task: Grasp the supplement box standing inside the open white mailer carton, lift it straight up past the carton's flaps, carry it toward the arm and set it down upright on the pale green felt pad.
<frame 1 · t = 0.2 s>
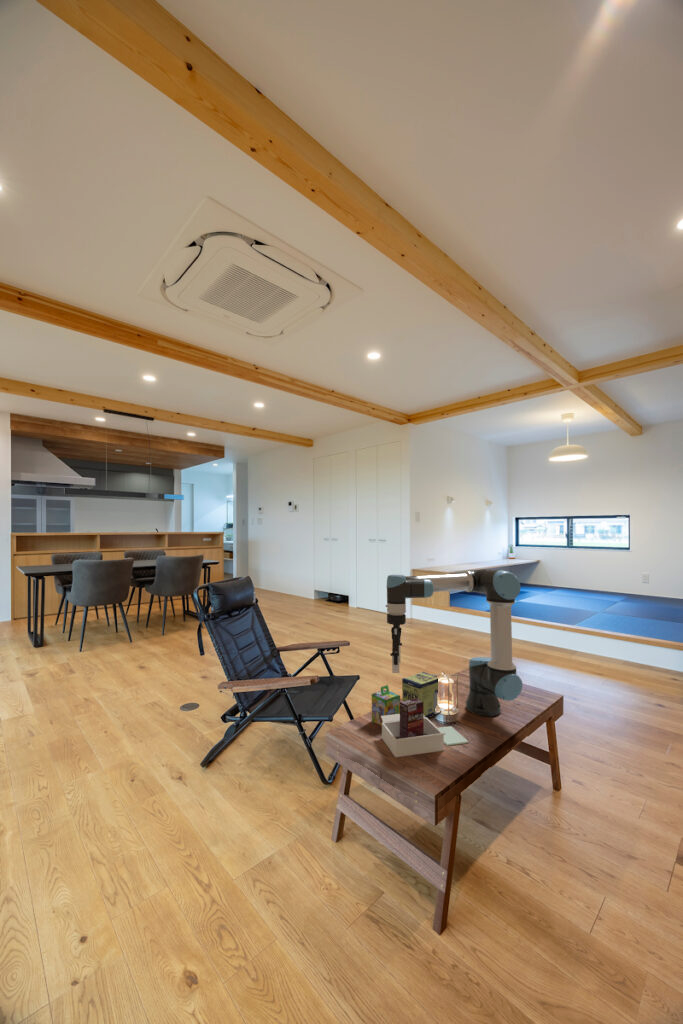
hand: (396, 667, 160), 27 cm above the table, fingers open, 13 cm apart
carton: (411, 744, 153), on the table
supplement box: (411, 744, 153), resting in carton
felt pad: (449, 736, 159), on the table
protein box: (422, 713, 181), on the table
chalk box: (386, 722, 172), on the table
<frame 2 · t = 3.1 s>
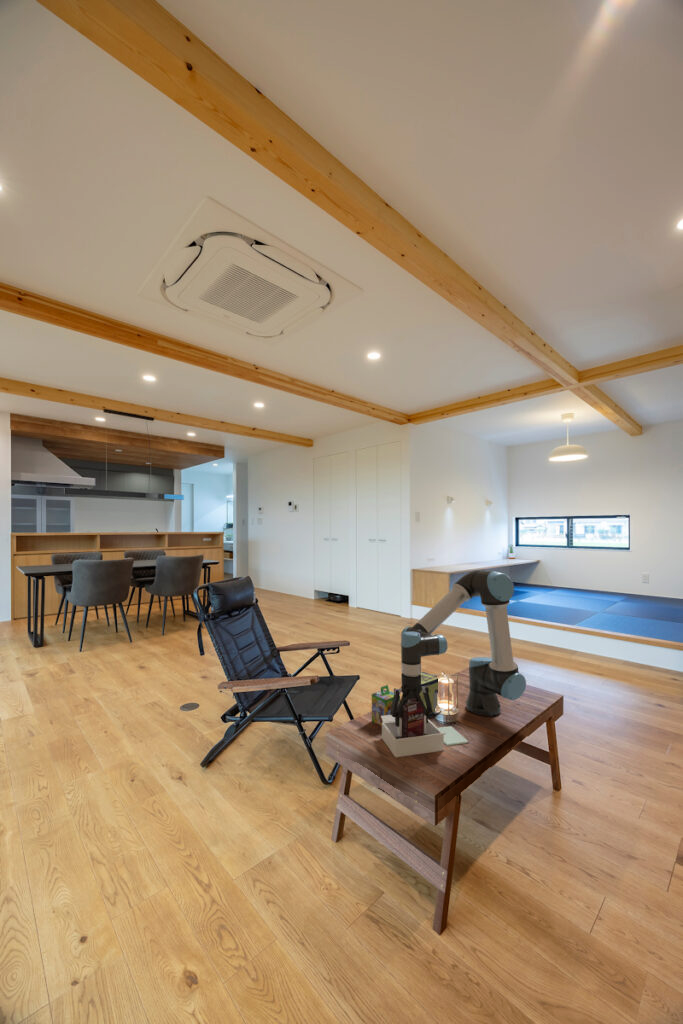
hand: (411, 733, 154), 4 cm above the table, fingers closed on supplement box, 9 cm apart
supplement box: (412, 744, 153), resting in carton, touching gripper
everything else where it was.
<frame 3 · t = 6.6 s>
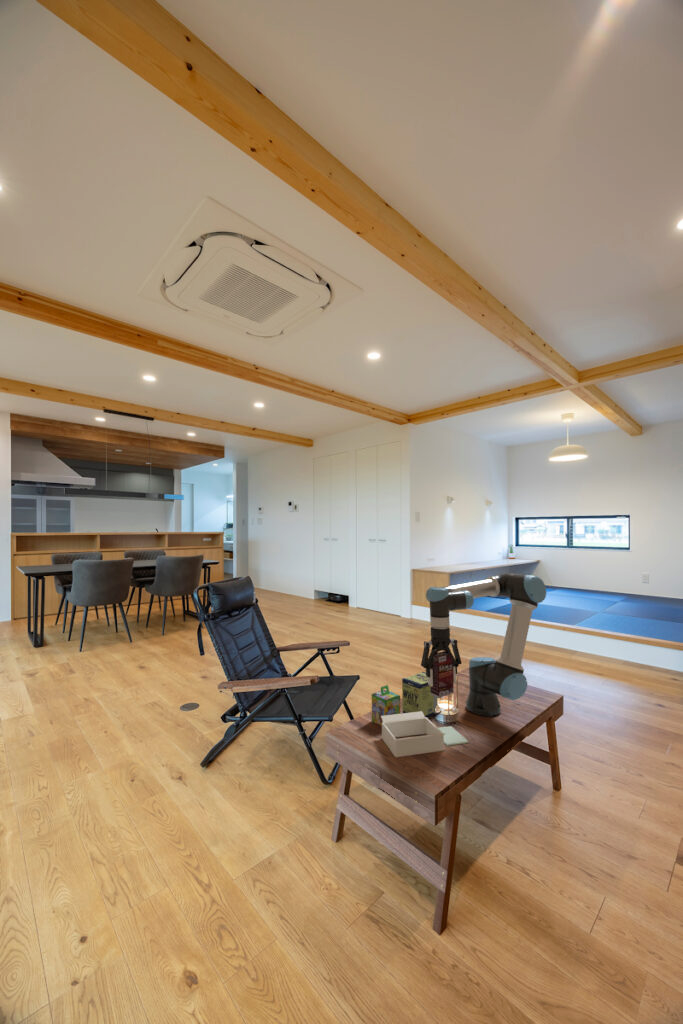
hand: (442, 683, 160), 21 cm above the table, fingers closed on supplement box, 9 cm apart
supplement box: (442, 694, 160), point 17 cm above the table, touching gripper
everything else where it was.
when the fingers open (7 cm above the table, at t = 10.6 s): supplement box drops 2 cm, resting on felt pad.
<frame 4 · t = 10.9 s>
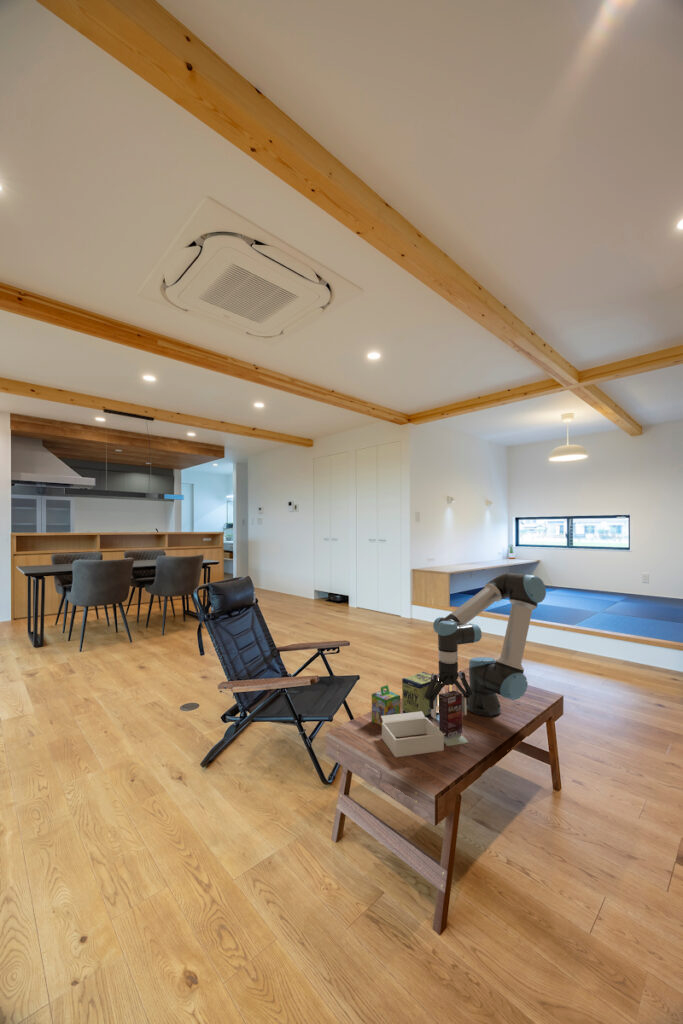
hand: (448, 715, 160), 8 cm above the table, fingers open, 13 cm apart
supplement box: (451, 735, 160), resting on felt pad
everything else where it was.
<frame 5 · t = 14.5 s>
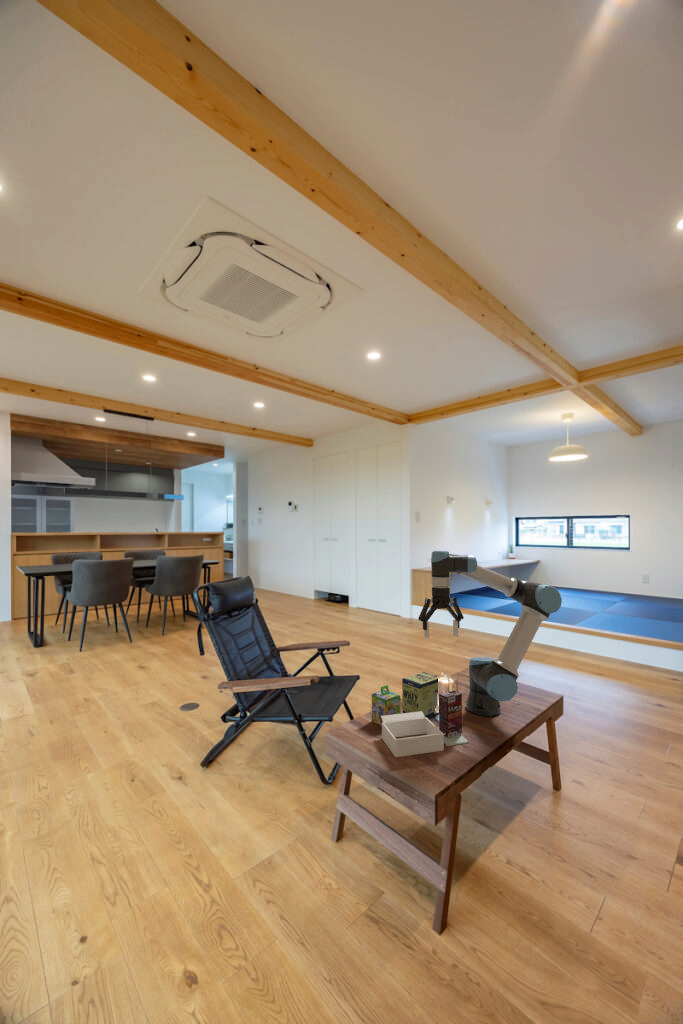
hand: (441, 636, 171), 37 cm above the table, fingers open, 13 cm apart
nothing on the table moved.
at the end: supplement box inside the target area on the felt pad (0.7 cm from its centre), point 0.4 cm above the felt pad's base; supplement box tilted 0°; the gripper is holding nothing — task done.
